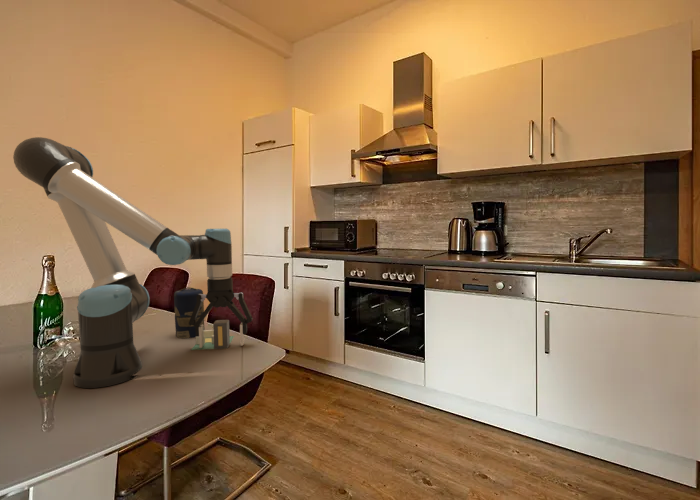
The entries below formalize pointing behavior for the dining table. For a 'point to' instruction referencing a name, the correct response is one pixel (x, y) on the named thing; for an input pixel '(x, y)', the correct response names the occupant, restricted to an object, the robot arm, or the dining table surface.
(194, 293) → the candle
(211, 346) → the board
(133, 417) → the dining table surface
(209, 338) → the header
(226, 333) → the plug
